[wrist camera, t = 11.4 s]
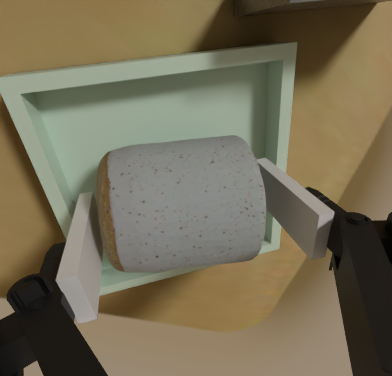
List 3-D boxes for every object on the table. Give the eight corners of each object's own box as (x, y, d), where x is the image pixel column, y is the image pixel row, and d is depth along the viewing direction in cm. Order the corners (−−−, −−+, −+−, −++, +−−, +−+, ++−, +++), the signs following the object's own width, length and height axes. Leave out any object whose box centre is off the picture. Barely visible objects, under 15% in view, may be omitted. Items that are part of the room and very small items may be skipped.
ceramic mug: (96, 131, 16) (80, 195, 10) (224, 119, 18) (284, 167, 11) (124, 257, 21) (126, 353, 15) (220, 239, 23) (259, 319, 16)
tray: (94, 274, 22) (91, 297, 20) (12, 73, 14) (-6, 78, 12) (266, 231, 25) (279, 248, 23) (276, 42, 17) (297, 42, 15)
